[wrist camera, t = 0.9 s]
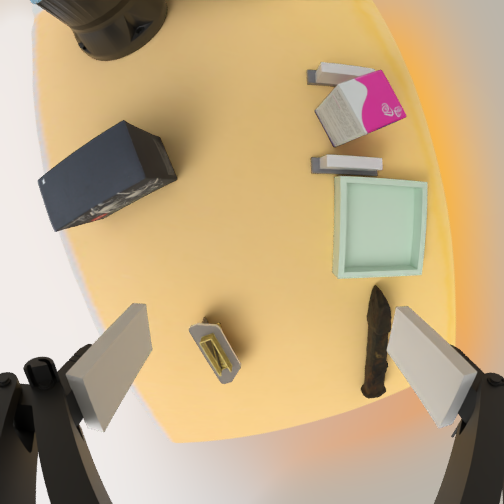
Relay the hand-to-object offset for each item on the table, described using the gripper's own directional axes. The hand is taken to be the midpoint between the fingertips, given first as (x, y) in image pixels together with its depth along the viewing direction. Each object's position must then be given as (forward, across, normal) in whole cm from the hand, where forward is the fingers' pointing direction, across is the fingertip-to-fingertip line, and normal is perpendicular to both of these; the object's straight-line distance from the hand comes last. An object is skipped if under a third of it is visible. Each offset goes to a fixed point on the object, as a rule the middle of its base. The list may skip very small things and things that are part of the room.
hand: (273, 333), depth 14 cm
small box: (+25, -19, +8) cm, 32 cm away
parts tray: (+25, +16, +2) cm, 29 cm away
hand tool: (+25, +17, -16) cm, 34 cm away
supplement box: (+25, +10, +16) cm, 32 cm away
